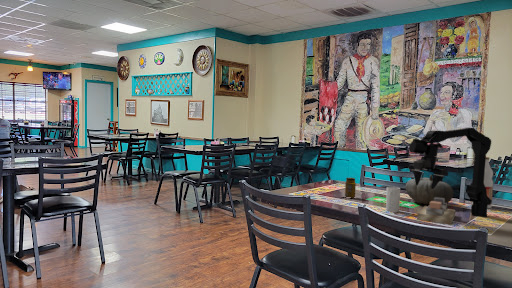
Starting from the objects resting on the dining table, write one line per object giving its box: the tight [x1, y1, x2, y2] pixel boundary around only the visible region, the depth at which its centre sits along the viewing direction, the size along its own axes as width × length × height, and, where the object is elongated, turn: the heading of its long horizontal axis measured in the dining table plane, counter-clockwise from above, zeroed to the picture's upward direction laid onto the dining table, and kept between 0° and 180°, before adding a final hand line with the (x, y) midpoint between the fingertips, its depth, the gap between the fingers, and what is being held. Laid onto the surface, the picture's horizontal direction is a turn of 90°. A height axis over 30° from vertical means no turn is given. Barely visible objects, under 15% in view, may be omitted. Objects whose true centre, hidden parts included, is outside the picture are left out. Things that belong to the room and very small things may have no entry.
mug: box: [385, 186, 401, 213], centre depth 189 cm, size 10×7×12 cm, turn 145°
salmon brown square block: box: [429, 201, 441, 209], centre depth 173 cm, size 4×4×3 cm
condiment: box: [344, 177, 357, 198], centre depth 223 cm, size 7×8×12 cm
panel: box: [416, 203, 456, 225], centre depth 178 cm, size 14×20×6 cm
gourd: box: [405, 174, 454, 206], centre depth 212 cm, size 25×25×17 cm
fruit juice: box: [471, 156, 494, 209], centre depth 205 cm, size 9×9×28 cm
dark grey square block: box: [433, 197, 445, 205], centre depth 183 cm, size 4×4×3 cm
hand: (424, 186), depth 181 cm, fingers open, 9 cm apart
